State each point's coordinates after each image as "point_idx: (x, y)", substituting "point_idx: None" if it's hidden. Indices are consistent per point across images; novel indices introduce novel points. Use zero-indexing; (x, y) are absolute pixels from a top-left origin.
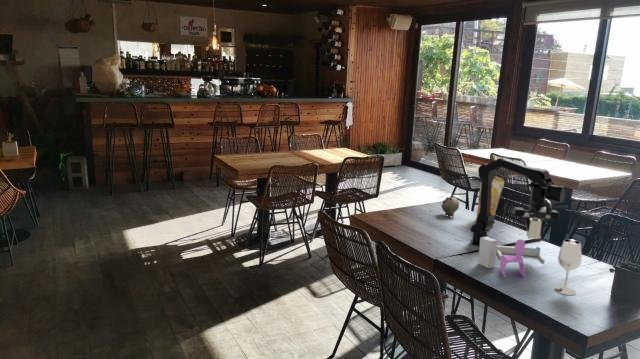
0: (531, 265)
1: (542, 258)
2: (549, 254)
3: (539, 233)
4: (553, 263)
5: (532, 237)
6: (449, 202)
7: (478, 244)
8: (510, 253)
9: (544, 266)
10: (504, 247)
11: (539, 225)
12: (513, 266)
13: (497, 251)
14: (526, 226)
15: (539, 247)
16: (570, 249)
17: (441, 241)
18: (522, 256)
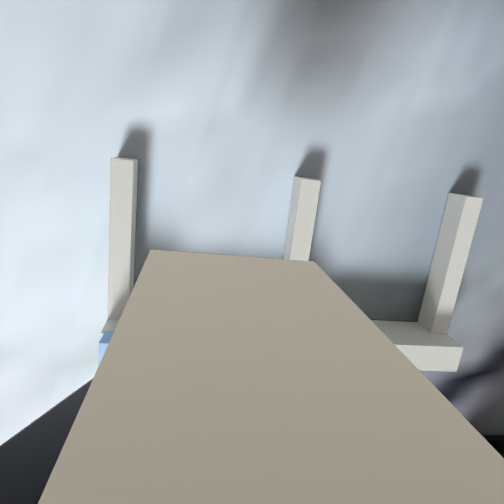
0: (262, 64)
1: (125, 183)
2: (9, 372)
3: (152, 282)
4: (33, 150)
5: (264, 262)
6: None
7: (501, 439)
8: None
9: (146, 52)
10: (407, 342)
11: (156, 393)
12: (432, 15)
13: (450, 304)
14: None
15: (105, 350)
16: None
17: None
18: (300, 205)
